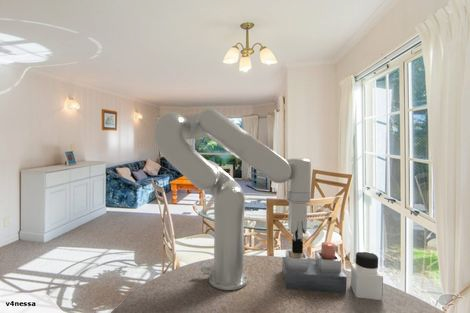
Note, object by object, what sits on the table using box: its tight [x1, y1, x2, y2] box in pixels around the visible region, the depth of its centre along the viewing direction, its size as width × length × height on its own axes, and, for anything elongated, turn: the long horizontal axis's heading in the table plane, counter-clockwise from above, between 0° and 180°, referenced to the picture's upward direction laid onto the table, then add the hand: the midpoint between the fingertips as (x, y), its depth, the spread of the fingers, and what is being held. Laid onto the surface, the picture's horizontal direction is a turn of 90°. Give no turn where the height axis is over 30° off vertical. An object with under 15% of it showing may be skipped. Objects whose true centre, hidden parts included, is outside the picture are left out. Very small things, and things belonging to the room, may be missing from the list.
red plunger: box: [320, 241, 336, 259], centre depth 85 cm, size 4×4×4 cm
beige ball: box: [290, 249, 303, 258], centre depth 86 cm, size 4×4×4 cm
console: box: [281, 249, 348, 294], centre depth 86 cm, size 18×12×9 cm, turn 84°
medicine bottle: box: [350, 250, 384, 301], centre depth 79 cm, size 7×7×12 cm
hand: (297, 252), depth 86 cm, fingers closed
